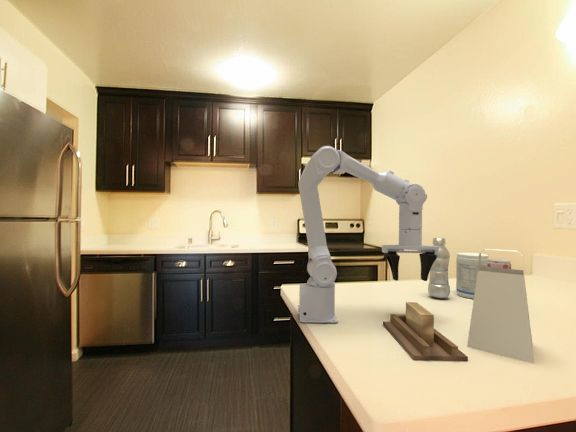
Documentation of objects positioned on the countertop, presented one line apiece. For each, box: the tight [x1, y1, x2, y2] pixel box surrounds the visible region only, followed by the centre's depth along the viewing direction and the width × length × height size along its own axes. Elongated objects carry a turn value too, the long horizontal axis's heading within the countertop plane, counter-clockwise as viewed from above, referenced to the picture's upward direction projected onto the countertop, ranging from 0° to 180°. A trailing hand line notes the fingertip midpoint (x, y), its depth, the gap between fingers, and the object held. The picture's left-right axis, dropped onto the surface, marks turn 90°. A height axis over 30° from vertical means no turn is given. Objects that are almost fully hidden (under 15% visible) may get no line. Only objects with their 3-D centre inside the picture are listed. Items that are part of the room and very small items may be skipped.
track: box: [382, 313, 469, 362], centre depth 63 cm, size 10×18×3 cm, turn 179°
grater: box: [466, 248, 535, 364], centre depth 61 cm, size 10×10×20 cm
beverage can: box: [487, 257, 512, 269], centre depth 83 cm, size 6×6×15 cm
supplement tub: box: [455, 251, 489, 300], centre depth 100 cm, size 10×10×15 cm
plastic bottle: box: [427, 237, 451, 300], centre depth 98 cm, size 6×7×20 cm
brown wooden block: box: [405, 301, 435, 345], centre depth 63 cm, size 3×9×6 cm, turn 176°
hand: (409, 280), depth 78 cm, fingers open, 7 cm apart
